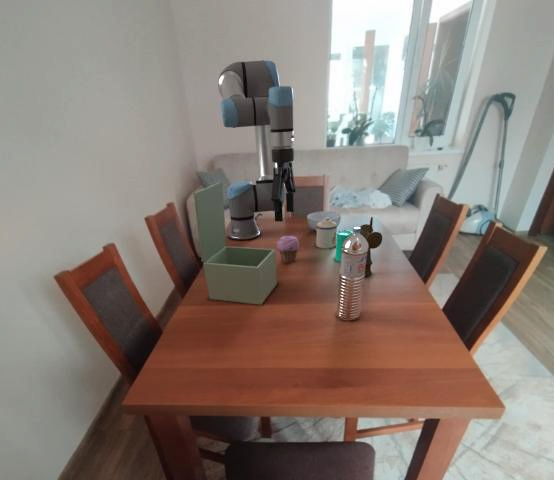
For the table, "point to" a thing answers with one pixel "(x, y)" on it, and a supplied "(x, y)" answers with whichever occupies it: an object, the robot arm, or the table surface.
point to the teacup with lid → (326, 234)
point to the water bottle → (352, 276)
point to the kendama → (370, 243)
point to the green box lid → (210, 220)
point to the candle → (340, 239)
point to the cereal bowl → (322, 218)
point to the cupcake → (288, 248)
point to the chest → (241, 274)
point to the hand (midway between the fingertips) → (284, 216)
